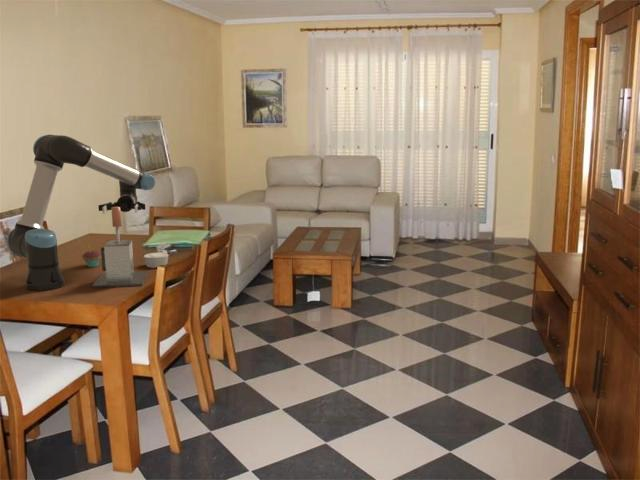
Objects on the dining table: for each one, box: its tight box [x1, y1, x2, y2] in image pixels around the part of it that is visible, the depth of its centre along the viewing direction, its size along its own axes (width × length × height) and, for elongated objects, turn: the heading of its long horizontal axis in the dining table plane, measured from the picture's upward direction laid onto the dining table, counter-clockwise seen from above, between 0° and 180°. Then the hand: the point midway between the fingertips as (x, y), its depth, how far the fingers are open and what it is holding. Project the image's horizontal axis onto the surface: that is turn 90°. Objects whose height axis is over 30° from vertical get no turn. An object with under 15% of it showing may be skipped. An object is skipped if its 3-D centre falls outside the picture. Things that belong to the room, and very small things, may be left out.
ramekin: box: [143, 252, 169, 269], centre depth 289 cm, size 11×11×5 cm
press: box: [91, 239, 148, 289], centre depth 261 cm, size 20×20×17 cm
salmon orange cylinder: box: [110, 207, 123, 243], centre depth 259 cm, size 4×4×24 cm
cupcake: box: [81, 242, 102, 268], centre depth 288 cm, size 9×8×12 cm
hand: (119, 210), depth 267 cm, fingers open, 13 cm apart
